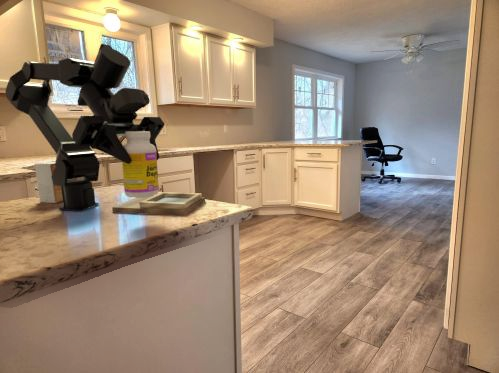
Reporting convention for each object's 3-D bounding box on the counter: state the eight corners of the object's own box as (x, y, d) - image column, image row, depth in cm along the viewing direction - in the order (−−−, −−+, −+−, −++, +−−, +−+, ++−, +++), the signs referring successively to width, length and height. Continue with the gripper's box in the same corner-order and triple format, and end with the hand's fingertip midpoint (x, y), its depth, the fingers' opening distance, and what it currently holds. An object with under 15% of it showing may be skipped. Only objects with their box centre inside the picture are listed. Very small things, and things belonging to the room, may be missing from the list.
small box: (55, 203, 83) (49, 163, 81) (39, 202, 85) (33, 163, 83) (80, 197, 91) (75, 160, 89) (65, 196, 92) (60, 160, 90)
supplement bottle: (150, 199, 62) (145, 131, 59) (118, 198, 63) (112, 131, 60) (164, 191, 68) (160, 131, 66) (135, 191, 69) (130, 131, 67)
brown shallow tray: (112, 212, 74) (111, 202, 73) (142, 199, 86) (141, 190, 86) (184, 215, 70) (184, 205, 70) (205, 201, 82) (204, 192, 82)
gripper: (73, 68, 55) (120, 133, 51) (155, 80, 71) (196, 130, 67) (54, 115, 60) (95, 177, 57) (134, 116, 76) (171, 165, 73)
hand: (144, 160), depth 63 cm, fingers closed on supplement bottle, 7 cm apart
